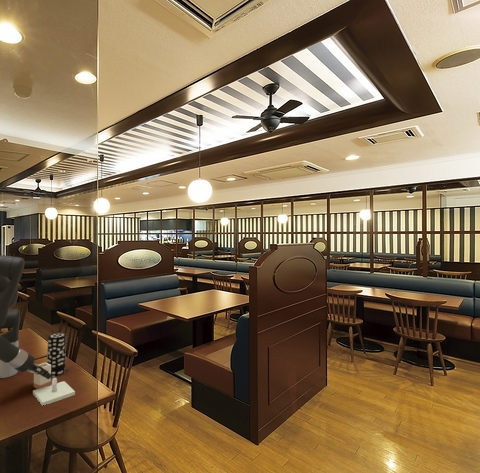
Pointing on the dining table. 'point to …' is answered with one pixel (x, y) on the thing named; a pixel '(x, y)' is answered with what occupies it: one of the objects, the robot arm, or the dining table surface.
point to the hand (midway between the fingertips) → (44, 375)
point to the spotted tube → (57, 353)
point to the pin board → (53, 392)
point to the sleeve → (42, 381)
